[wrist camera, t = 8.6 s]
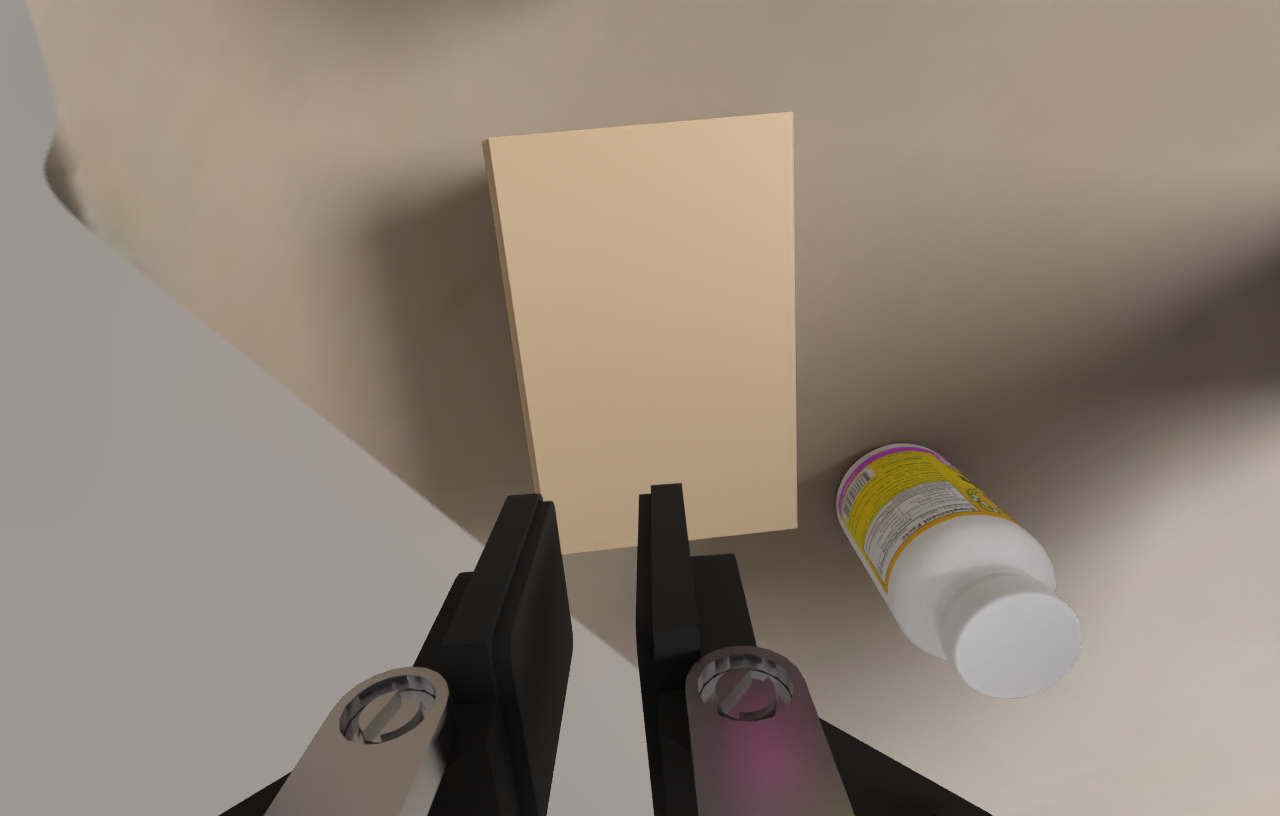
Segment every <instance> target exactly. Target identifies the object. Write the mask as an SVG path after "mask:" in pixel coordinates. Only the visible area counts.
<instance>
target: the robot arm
mask: <svg viewBox="0 0 1280 816" xmlns="http://www.w3.org/2000/svg"><path fill="white" fill-rule="evenodd" d="M636 642H637V655H638V665H639V674H640V682H641V683H640V684H641V693H642V702H643V712H644V722H645V732H646V740H647V751H648V760H649V770H650V780H651V788H652V799H653V808H654V816H992V815H991V814H990V813H988V812H986V811H984V810H983V809H981V808H979V807H977V806H975V805H974V804H972V803H970V802H968V801H967V800H965V799H963V798H961V797H959V796H958V795H956V794H954V793H952V792H951V791H949V790H947V789H945V788H943V787H942V786H940V785H938V784H936V783H935V782H933V781H931V780H929V779H927V778H926V777H924V776H922V775H920V774H919V773H917V772H915V771H913V770H911V769H910V768H908V767H906V766H904V765H902V764H901V763H899V762H897V761H895V760H894V759H892V758H890V757H888V756H886V755H885V754H883V753H881V752H879V751H878V750H876V749H874V748H872V747H870V746H869V745H867V744H865V743H863V742H862V741H860V740H858V739H856V738H854V737H853V736H851V735H849V734H847V733H845V732H844V731H842V730H840V729H838V728H837V727H835V726H833V725H831V724H829V723H828V722H826V721H824V720H822V719H821V718H819V717H818V715H817V712H816V709H815V707H814V704H813V701H812V698H811V696H810V693H809V690H808V688H807V685H806V682H805V680H804V678H803V676H802V675H801V673H800V671H799V670H798V668H797V667H796V666H795V665H794V664H792V663H791V662H790V661H789V660H788V659H786V658H785V657H783V656H781V655H779V654H777V653H775V652H773V651H771V650H768V649H763V648H759V647H757V646H756V641H755V637H754V633H753V629H752V625H751V620H750V616H749V612H748V608H747V604H746V600H745V595H744V591H743V587H742V583H741V579H740V575H739V570H738V566H737V562H736V558H735V555H734V554H720V555H706V556H692V557H690V549H689V541H688V532H687V524H686V515H685V507H684V498H683V490H682V483H674V484H660V485H651V494H639V512H638V552H637V592H636ZM572 651H573V633H572V625H571V618H570V610H569V603H568V596H567V589H566V582H565V575H564V568H563V561H562V553H561V546H560V539H559V532H558V525H557V518H556V511H555V505H554V502H553V501H543V498H542V495H541V494H540V493H538V494H524V495H511V496H508V497H507V499H506V501H505V503H504V505H503V508H502V510H501V512H500V514H499V517H498V519H497V521H496V523H495V525H494V528H493V530H492V532H491V534H490V537H489V539H488V541H487V543H486V545H485V548H484V550H483V552H482V555H481V557H480V559H479V561H478V563H477V566H476V568H475V570H474V572H463V573H460V574H459V575H458V576H457V578H456V579H455V581H454V583H453V585H452V587H451V589H450V591H449V593H448V595H447V598H446V599H445V601H444V603H443V606H442V608H441V610H440V612H439V614H438V616H437V618H436V620H435V622H434V624H433V626H432V628H431V630H430V632H429V634H428V636H427V638H426V641H425V642H424V645H423V647H422V649H421V651H420V653H419V655H418V657H417V659H416V661H415V663H414V665H413V667H405V668H399V669H393V670H389V671H386V672H384V673H381V674H378V675H375V676H373V677H371V678H369V679H367V680H366V681H364V682H362V683H360V684H358V685H357V686H356V687H354V688H353V689H352V690H351V691H349V692H348V693H347V694H345V695H344V696H343V697H342V698H341V699H340V701H339V702H338V703H337V704H336V706H335V707H334V708H333V709H332V710H331V712H330V713H329V715H328V717H327V718H326V720H325V721H324V723H323V724H322V726H321V727H320V729H319V731H318V732H317V734H316V735H315V737H314V738H313V740H312V741H311V743H310V745H309V746H308V748H307V749H306V751H305V752H304V754H303V755H302V757H301V758H300V760H299V762H298V763H297V765H296V766H295V768H294V769H293V771H292V772H290V773H288V774H287V775H285V776H283V777H282V778H280V779H279V780H277V781H275V782H273V783H272V784H270V785H268V786H267V787H265V788H264V789H262V790H260V791H259V792H257V793H255V794H254V795H252V796H250V797H249V798H247V799H245V800H244V801H242V802H240V803H239V804H237V805H235V806H234V807H232V808H230V809H229V810H227V811H226V812H224V813H222V814H221V815H219V816H546V815H547V809H548V802H549V796H550V790H551V784H552V778H553V771H554V765H555V759H556V752H557V746H558V740H559V734H560V727H561V721H562V715H563V708H564V702H565V696H566V690H567V683H568V677H569V671H570V664H571V658H572Z"/></svg>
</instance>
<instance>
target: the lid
mask: <svg viewBox="0 0 1280 816" xmlns="http://www.w3.org/2000/svg"><path fill="white" fill-rule="evenodd" d="M482 146H483V153H484V160H485V166H486V173H487V179H488V186H489V193H490V199H491V206H492V213H493V219H494V226H495V233H496V239H497V246H498V253H499V259H500V266H501V273H502V279H503V286H504V293H505V299H506V306H507V313H508V319H509V326H510V333H511V339H512V346H513V353H514V359H515V366H516V373H517V379H518V386H519V393H520V399H521V406H522V412H523V419H524V426H525V432H526V439H527V446H528V452H529V459H530V466H531V472H532V479H533V486H534V492H535V494H538V493H540V494H541V495H542V498H543V501H553V502H554V505H555V511H556V518H557V525H558V532H559V539H560V546H561V553H562V555H563V554H572V553H581V552H590V551H599V550H608V549H617V548H626V547H634V546H638V512H639V494H651V485H660V484H674V483H682V490H683V498H684V507H685V515H686V524H687V532H688V540H697V539H706V538H715V537H724V536H733V535H742V534H751V533H760V532H769V531H778V530H787V529H796V528H797V446H796V350H795V253H794V156H793V112H783V113H772V114H760V115H748V116H737V117H725V118H713V119H702V120H690V121H679V122H667V123H655V124H644V125H632V126H621V127H609V128H597V129H586V130H574V131H562V132H551V133H539V134H528V135H516V136H504V137H493V138H489V139H482Z"/></svg>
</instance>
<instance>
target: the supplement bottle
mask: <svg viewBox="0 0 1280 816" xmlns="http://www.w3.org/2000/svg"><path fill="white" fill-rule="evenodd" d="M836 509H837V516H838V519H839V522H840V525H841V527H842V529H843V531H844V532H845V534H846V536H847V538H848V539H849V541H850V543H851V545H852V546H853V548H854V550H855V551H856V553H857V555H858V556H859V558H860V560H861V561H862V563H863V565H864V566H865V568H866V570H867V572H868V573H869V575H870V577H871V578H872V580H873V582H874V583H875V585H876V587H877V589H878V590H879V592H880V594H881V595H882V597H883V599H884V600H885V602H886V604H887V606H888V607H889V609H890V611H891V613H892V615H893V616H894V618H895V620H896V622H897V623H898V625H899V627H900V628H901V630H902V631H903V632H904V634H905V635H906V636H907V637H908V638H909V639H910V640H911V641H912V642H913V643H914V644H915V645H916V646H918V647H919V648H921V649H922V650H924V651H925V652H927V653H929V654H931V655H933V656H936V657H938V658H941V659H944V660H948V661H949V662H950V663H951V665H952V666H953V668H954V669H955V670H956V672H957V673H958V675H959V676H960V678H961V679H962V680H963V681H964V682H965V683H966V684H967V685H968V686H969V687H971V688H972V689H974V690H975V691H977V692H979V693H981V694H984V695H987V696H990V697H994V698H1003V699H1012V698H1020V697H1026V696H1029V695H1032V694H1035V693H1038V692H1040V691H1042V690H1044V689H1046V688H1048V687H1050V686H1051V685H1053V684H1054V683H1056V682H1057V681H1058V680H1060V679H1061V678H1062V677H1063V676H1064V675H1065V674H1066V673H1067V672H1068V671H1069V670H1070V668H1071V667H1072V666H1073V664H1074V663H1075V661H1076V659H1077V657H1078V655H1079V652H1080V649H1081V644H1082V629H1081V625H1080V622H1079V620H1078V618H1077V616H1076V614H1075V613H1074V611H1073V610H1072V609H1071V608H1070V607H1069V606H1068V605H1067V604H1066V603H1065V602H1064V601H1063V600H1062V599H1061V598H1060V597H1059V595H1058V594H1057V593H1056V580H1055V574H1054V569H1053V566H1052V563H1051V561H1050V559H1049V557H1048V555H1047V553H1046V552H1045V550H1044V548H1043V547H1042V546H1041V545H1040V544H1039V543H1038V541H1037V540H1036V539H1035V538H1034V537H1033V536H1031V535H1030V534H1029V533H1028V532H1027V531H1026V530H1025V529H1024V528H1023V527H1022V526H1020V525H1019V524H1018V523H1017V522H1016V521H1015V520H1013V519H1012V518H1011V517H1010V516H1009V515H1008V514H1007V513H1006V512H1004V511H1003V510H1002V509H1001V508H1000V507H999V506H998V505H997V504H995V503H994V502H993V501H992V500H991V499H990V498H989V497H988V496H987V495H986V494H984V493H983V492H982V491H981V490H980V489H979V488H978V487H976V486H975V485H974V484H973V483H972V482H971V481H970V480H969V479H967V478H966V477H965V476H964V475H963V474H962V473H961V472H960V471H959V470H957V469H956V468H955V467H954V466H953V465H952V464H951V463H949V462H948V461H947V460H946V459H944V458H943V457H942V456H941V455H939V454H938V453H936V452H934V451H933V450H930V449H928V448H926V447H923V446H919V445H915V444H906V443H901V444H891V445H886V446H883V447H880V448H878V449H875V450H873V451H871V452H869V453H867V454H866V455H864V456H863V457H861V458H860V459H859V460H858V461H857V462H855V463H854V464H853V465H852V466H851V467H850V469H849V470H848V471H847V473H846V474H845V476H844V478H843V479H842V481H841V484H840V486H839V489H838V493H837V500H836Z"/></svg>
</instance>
